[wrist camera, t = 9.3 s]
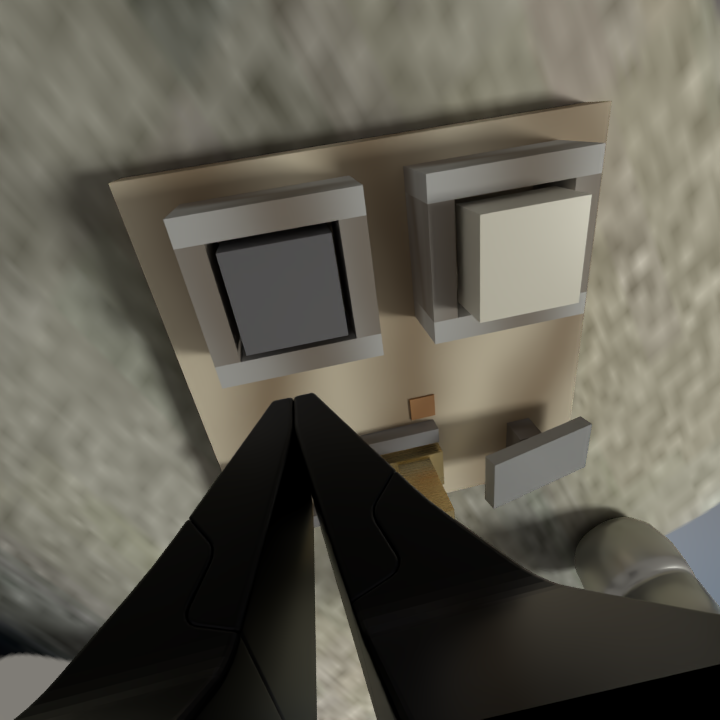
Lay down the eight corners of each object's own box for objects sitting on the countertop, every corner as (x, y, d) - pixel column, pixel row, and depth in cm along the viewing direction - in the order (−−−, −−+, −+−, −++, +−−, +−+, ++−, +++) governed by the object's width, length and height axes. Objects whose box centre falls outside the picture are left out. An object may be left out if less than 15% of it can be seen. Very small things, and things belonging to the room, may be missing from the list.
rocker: (485, 499, 22) (494, 508, 21) (485, 456, 20) (494, 466, 20) (574, 458, 23) (585, 466, 23) (580, 416, 22) (591, 423, 21)
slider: (383, 486, 23) (405, 555, 19) (379, 454, 22) (401, 521, 18) (439, 473, 23) (470, 538, 20) (437, 441, 22) (470, 504, 18)
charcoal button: (248, 331, 17) (246, 355, 15) (221, 238, 15) (215, 253, 13) (340, 313, 17) (348, 335, 16) (324, 220, 15) (331, 232, 14)
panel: (250, 518, 25) (246, 586, 21) (121, 178, 16) (77, 195, 12) (550, 447, 26) (594, 499, 23) (586, 102, 17) (669, 97, 14)
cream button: (458, 302, 17) (480, 322, 15) (455, 203, 15) (480, 214, 13) (547, 284, 17) (578, 302, 15) (555, 186, 15) (591, 194, 13)
